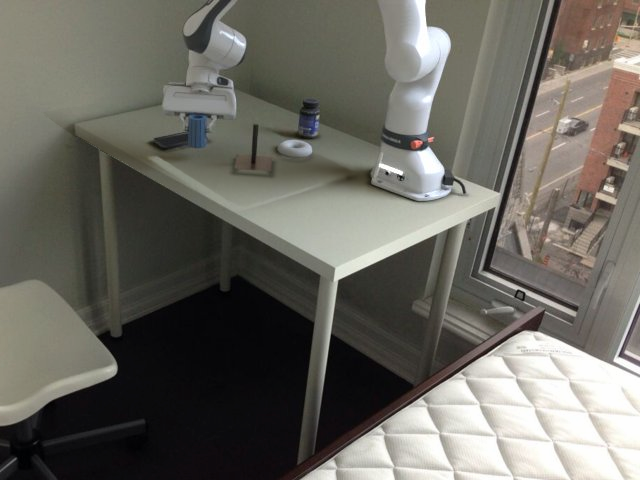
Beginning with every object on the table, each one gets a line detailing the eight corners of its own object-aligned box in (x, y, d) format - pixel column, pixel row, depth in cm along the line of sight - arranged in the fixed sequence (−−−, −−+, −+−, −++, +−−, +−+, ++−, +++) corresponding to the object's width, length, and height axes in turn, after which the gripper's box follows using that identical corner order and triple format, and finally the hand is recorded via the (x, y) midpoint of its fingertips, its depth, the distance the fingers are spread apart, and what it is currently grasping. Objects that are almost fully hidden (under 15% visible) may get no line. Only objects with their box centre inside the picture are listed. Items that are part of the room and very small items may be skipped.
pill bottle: (317, 139, 221) (321, 104, 215) (297, 138, 221) (301, 103, 215) (316, 132, 226) (320, 97, 220) (297, 131, 226) (300, 96, 220)
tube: (209, 146, 198) (210, 117, 193) (194, 149, 195) (195, 120, 191) (199, 140, 201) (199, 112, 196) (184, 143, 198) (185, 115, 194)
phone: (151, 138, 212) (194, 129, 220) (151, 142, 213) (194, 133, 220) (165, 147, 207) (209, 138, 214) (165, 151, 207) (208, 141, 215)
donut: (274, 160, 206) (309, 163, 205) (275, 148, 205) (310, 152, 203) (280, 147, 215) (313, 151, 213) (280, 136, 213) (314, 139, 211)
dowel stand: (271, 162, 205) (274, 119, 198) (270, 176, 196) (274, 132, 190) (236, 159, 205) (238, 116, 198) (233, 173, 197) (236, 129, 190)
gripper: (162, 75, 195) (157, 123, 192) (238, 81, 194) (234, 128, 192) (165, 87, 201) (160, 133, 198) (238, 92, 201) (234, 138, 198)
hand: (197, 131), depth 195 cm, fingers closed on tube, 5 cm apart
